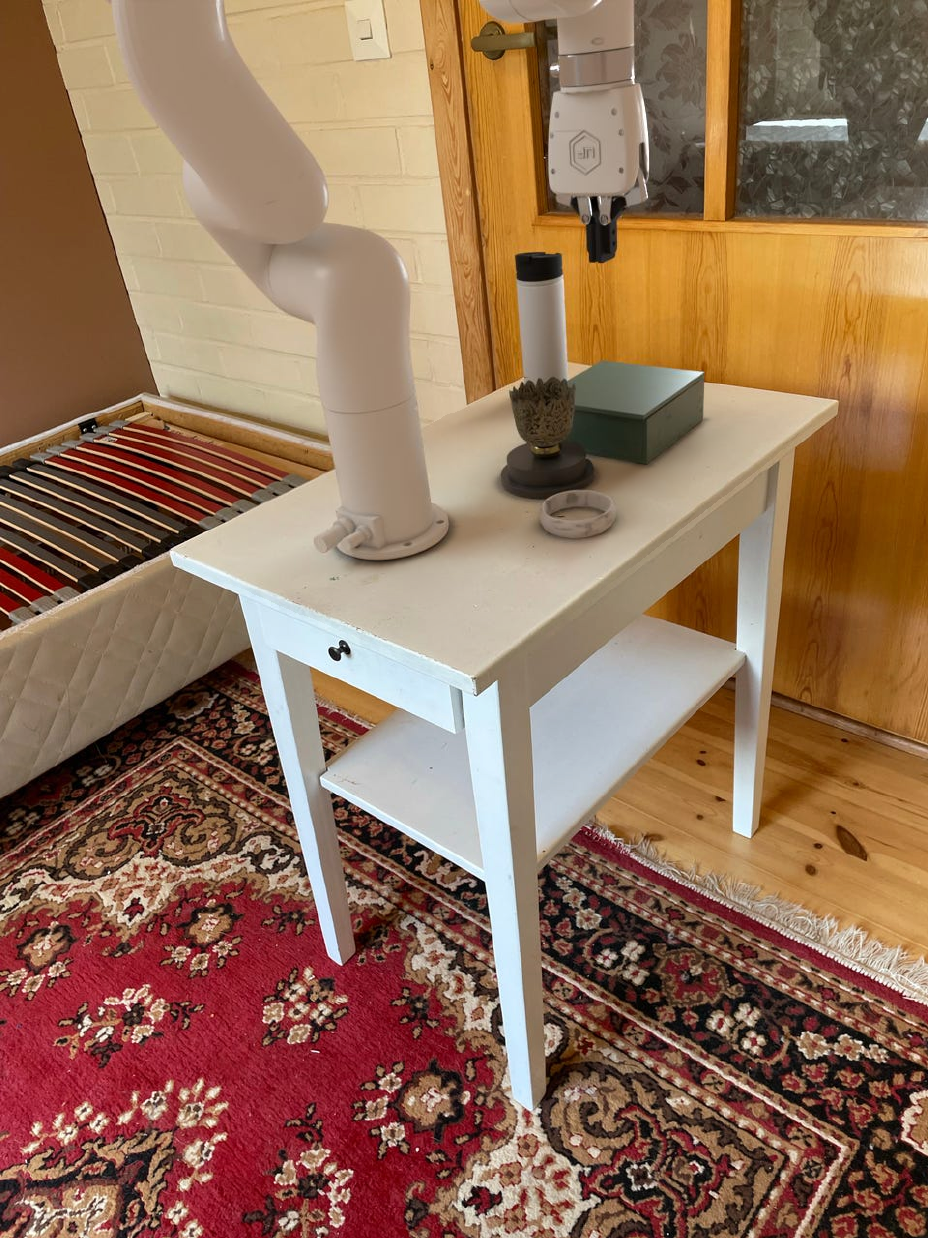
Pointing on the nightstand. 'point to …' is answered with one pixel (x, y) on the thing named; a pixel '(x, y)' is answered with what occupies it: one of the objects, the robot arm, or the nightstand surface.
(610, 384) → the tin lid
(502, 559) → the nightstand surface
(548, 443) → the cup
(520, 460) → the stand
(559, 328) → the travel mug
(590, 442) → the tin
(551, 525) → the ring
